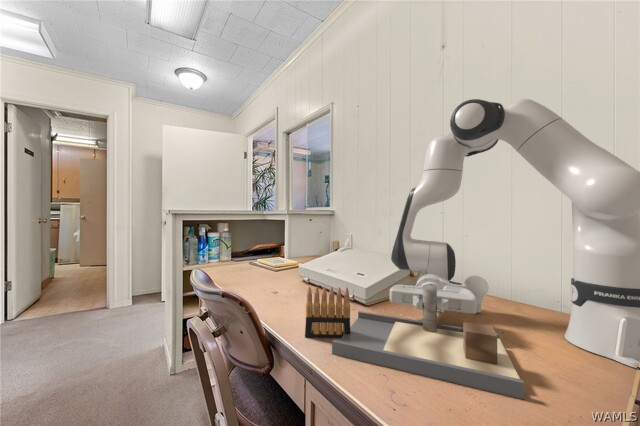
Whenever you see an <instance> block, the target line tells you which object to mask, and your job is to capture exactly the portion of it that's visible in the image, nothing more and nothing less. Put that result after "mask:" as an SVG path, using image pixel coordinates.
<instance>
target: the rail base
mask: <svg viewBox="0 0 640 426" xmlns="http://www.w3.org/2000/svg"><path fill="white" fill-rule="evenodd" d="M395 322H401V323H407V324H413V325H419V326H423V320H418V319H412V318H406V317H399V316H394V315H387V314H380V313H373V312H369V311H364V310H363V311H361V310H359V311H358V312H357V318H356V319H355V320H354V322H353V323H352V324H351V325H350V332H351V334H344V335H343V336H342V338H339V339H333V340H332V341H331V354H332V355H335V356H339V357H344V358H348V359H351V360H356V361H361V362H364V363H369V364H373V365H377V366H382V367H385V368H389V369H394V370H399V371H402V372H406V373H411V374H415V375H419V376H424V377H426V378H427V377H428V378H433V379H437V380H440V381H444V382H449V383H453V384H457V385H462V386H466V387H469V388H473V389H479V390H482V391H486V392H492V393H496V394H499V395H504V396H508V397H512V398H516V399H520V400H525V382H524V379H521V378H520V379H517V378H512V377H508V376H503V375H498V374H493V373H489V372H484V371H479V370H475V369H470V368H465V367H461V366H456V365H451V364H446V363H442V362H437V361H432V360H428V359H423V358H418V357H414V356H409V355H404V354H399V353H395V352H390V351H385V350H383V349H384V347H385V344H386V342H387V340H388V338H389V335H390V333H391V331H392V328H393V326H394V324H395ZM437 329H443V330H449V331H455V332H461V333H463V327H462V326H455V325H451V324H443V323H439V322H438V323H437ZM495 333H496V335H497V338H498V339H500V334H499V333H498V332H495Z"/></svg>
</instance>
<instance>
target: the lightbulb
mask: <svg viewBox="0 0 640 426" xmlns="http://www.w3.org/2000/svg"><path fill="white" fill-rule="evenodd" d="M463 284H465V285H467V289H468V290H470V291H471V292H472V293H473V294H474V295H475V297H476V299H477V313H476V314H479V313H482V304H483V301H484V298H485V297H486V295H487V294H488V292H489V288H490V286H489V284H488V281H487V280H486V279H485V278H483V277H481V276H479V275H471V276H468V277H467V278H466V279H465V280H464V282H463Z"/></svg>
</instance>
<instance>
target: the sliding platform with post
mask: <svg viewBox="0 0 640 426" xmlns="http://www.w3.org/2000/svg"><path fill="white" fill-rule="evenodd" d="M437 313H438V312H437V287H436V286H432V285H423V309H422V321H423V326H419V325H413V324H407V323H401V322H395V324H394V326H393V328H392V331H391V333H390V335H389V338H388V340H387V342H386V344H385V347H384V349H383V350H385V351H390V352H395V353H399V354H404V355H409V356H414V357H418V358H423V359H428V360H432V361H437V362H442V363H446V364H451V365H456V366H461V367H465V368H470V369H475V370H479V371H484V372H489V373H493V374H498V375H503V376H508V377H512V378H517V379H521V377H520V376H519V374H518V372H517V370H516V368H515V367H514V364H513V362H512V361H511V357H510V356H509V354H508V353H507V351H506V349H505V347H504V345H503V343H502V340H501V339H500V338H499V339H498V338H497V365H496V364H491V363H486V362H481V361H476V360H471V359H466V358H465V353H464V348H463V333H461V332H455V331H449V330H443V329H437V322H438V321H437V319H438V317H437V316H438V314H437Z"/></svg>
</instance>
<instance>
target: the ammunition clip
mask: <svg viewBox="0 0 640 426" xmlns="http://www.w3.org/2000/svg"><path fill="white" fill-rule="evenodd" d="M337 288H338V289H337V290H336V291H337V292H336V299H335V292H334V291H335V290H334V288H333V286H331V287H330V288H329V289H330V290H329V293H328V296H327V289H326V287H325V286H323V288H322V291H321V300H320V291H319V288H318V286H316V287H315V290H314V297H313V292H312V288H311V286H308V289H307V294H306V304H305V328H304V338H308V339H312V338H313V339H341V338H342V336H343V335H344V334H351V332H350V327H351V303H350V301H351V300H350V293H349V288H348V286H347V287H345V290H344V294H343V295H344V297H342V289H341V287H340V286H338V287H337ZM342 299H343V300H342ZM335 300H336V301H335ZM320 301H321V302H320ZM335 302H336V303H335Z"/></svg>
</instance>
